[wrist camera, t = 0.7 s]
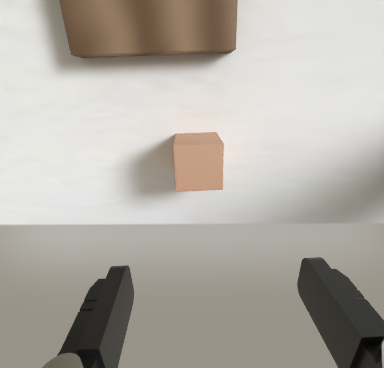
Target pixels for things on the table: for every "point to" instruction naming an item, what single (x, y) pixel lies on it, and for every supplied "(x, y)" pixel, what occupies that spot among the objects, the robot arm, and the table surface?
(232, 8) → the walnut base
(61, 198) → the table surface
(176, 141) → the stacking block
